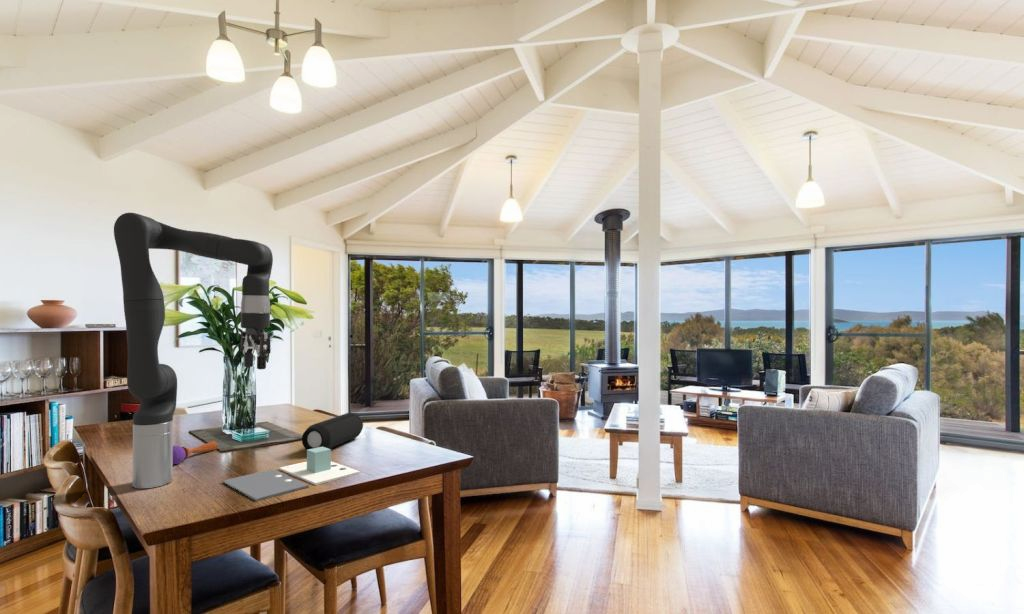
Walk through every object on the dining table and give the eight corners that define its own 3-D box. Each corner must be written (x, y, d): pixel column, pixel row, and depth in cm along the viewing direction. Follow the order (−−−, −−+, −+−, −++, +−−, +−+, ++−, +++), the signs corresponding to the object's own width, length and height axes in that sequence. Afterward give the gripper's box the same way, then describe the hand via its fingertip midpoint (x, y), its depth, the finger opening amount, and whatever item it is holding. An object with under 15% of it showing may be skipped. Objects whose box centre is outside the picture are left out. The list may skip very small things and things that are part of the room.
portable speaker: (342, 436, 199) (342, 411, 199) (365, 438, 197) (365, 412, 197) (299, 454, 174) (299, 424, 174) (325, 456, 172) (325, 426, 172)
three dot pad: (278, 469, 157) (279, 467, 157) (321, 459, 167) (321, 457, 167) (315, 485, 142) (315, 482, 142) (359, 473, 153) (359, 471, 153)
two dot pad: (222, 482, 145) (222, 480, 145) (272, 471, 155) (272, 469, 155) (256, 501, 130) (256, 498, 130) (308, 487, 141) (308, 484, 141)
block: (306, 469, 155) (306, 449, 155) (322, 466, 158) (322, 446, 158) (315, 473, 151) (315, 452, 151) (330, 469, 155) (330, 449, 155)
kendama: (222, 439, 179) (177, 450, 160) (218, 456, 179) (172, 469, 159) (207, 435, 180) (160, 445, 161) (203, 452, 180) (156, 464, 160)
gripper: (231, 311, 150) (231, 367, 150) (252, 311, 141) (252, 371, 140) (258, 311, 156) (257, 365, 155) (280, 311, 146) (279, 368, 146)
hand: (254, 368), depth 148 cm, fingers open, 8 cm apart
